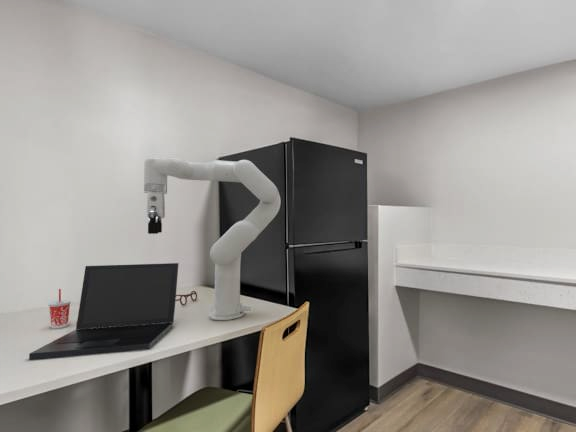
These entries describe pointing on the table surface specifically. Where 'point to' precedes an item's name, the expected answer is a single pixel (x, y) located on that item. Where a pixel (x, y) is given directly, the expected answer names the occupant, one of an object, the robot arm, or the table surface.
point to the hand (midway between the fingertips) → (155, 233)
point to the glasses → (186, 297)
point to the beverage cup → (59, 313)
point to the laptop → (103, 340)
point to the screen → (127, 295)
